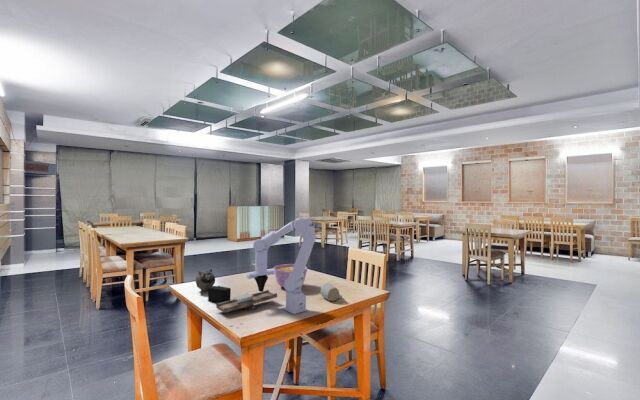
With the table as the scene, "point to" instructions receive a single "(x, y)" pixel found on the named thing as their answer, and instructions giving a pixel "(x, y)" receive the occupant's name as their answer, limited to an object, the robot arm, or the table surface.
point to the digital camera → (219, 294)
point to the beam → (257, 298)
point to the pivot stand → (251, 307)
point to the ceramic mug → (330, 292)
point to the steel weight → (242, 298)
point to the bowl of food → (284, 272)
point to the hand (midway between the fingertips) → (260, 290)
